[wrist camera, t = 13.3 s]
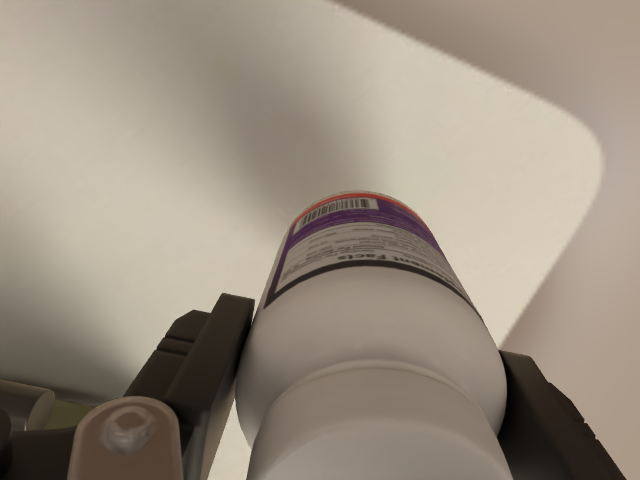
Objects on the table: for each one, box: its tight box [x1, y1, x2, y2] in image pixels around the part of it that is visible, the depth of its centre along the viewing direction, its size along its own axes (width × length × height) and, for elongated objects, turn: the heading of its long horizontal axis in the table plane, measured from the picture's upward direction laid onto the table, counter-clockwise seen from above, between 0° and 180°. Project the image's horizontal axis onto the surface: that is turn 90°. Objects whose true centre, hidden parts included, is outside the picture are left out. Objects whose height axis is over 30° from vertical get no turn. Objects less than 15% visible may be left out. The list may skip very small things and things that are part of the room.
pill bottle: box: [235, 191, 513, 480], centre depth 11 cm, size 5×5×10 cm
